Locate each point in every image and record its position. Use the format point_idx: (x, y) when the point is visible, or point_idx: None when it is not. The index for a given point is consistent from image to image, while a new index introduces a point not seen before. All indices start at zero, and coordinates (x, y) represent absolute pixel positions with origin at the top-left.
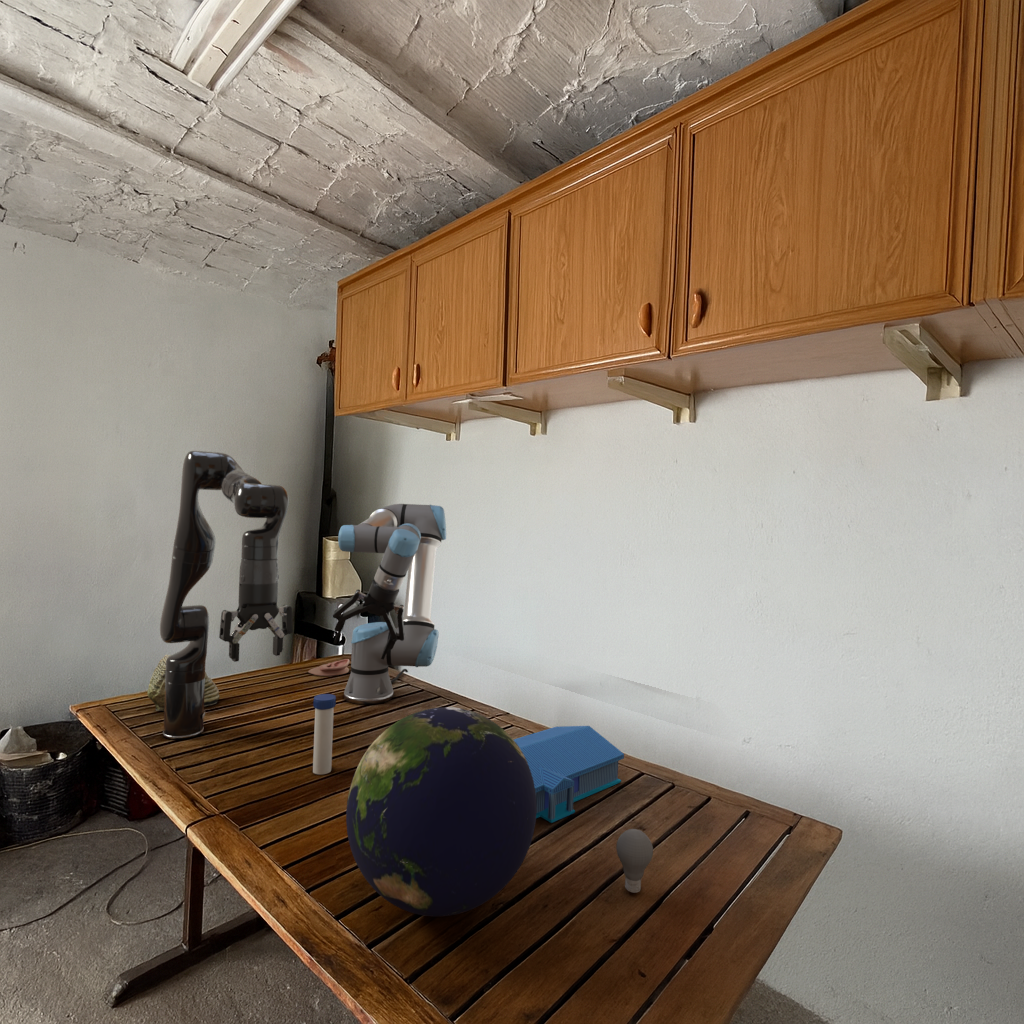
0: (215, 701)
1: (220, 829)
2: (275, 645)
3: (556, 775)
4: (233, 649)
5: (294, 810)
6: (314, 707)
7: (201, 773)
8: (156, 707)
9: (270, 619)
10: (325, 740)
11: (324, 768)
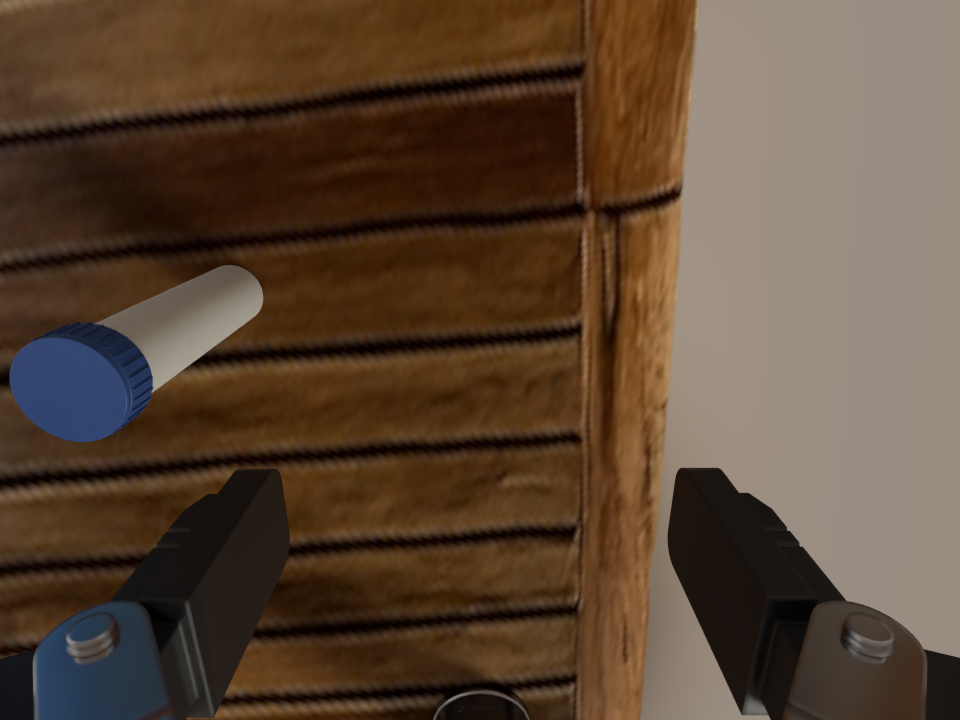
0: None
1: (624, 109)
2: (242, 572)
3: None
4: (793, 563)
5: (406, 81)
6: (151, 378)
7: (532, 476)
8: None
9: None
10: (181, 293)
11: (228, 269)
